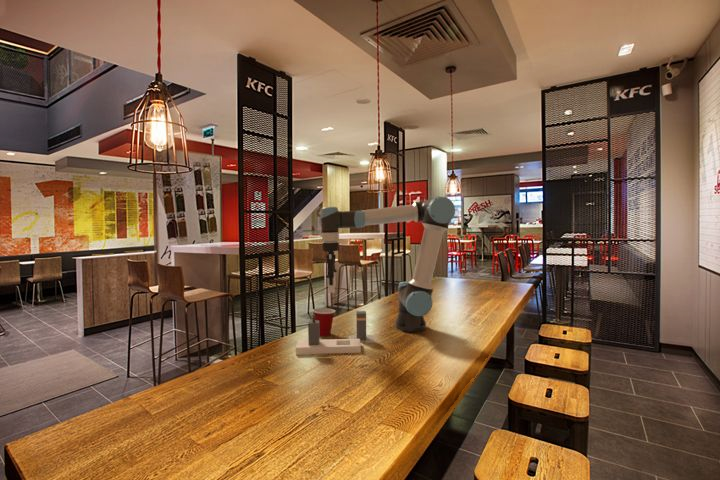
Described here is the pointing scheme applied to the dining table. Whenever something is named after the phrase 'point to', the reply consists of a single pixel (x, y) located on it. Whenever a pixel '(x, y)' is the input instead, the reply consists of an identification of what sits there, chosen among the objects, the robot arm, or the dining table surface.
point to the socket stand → (325, 343)
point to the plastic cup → (324, 320)
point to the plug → (361, 324)
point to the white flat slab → (368, 340)
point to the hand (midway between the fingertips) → (332, 289)
